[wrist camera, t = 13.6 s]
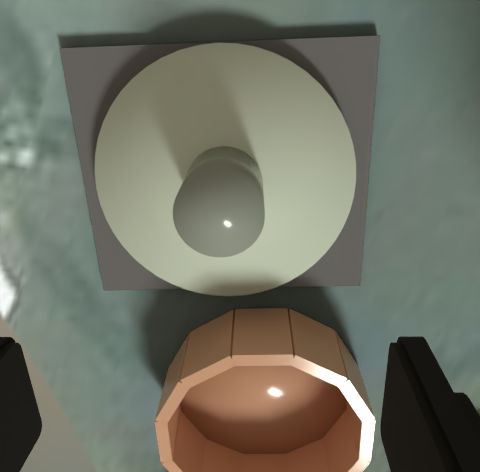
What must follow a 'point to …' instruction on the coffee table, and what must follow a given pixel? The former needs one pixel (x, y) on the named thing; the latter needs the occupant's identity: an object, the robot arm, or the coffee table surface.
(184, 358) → the bowl
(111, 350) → the coffee table surface
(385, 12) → the coffee table surface
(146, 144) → the lid
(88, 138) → the mat
